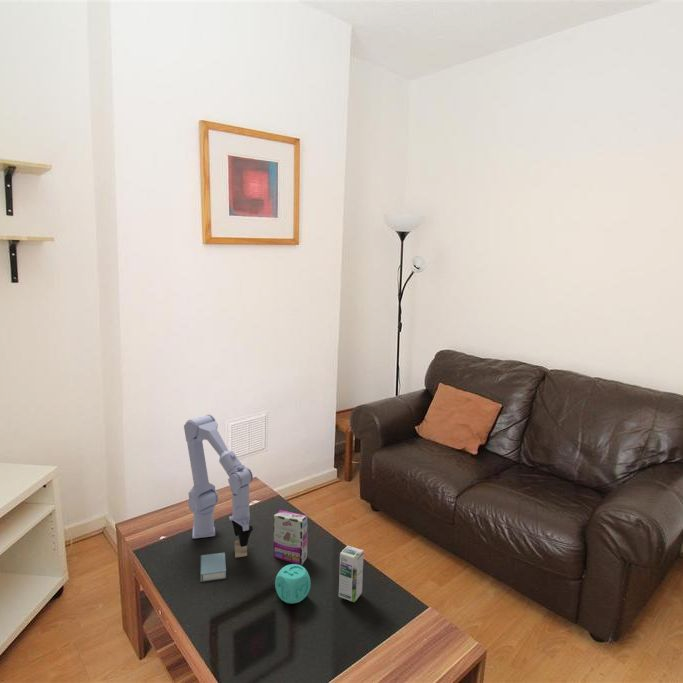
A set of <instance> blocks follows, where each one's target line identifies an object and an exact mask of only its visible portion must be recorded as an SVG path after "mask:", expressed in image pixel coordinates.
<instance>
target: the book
mask: <svg viewBox="0 0 683 683" xmlns="http://www.w3.org/2000/svg"><path fill="white" fill-rule="evenodd" d="M226 565H227V564H226V552H218V553H210V554H209V553H207V554H201V555H200V583H202V582H209V581H216V580H224V579H227V566H226Z"/></svg>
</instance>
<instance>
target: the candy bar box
mask: <svg viewBox="0 0 683 683" xmlns="http://www.w3.org/2000/svg"><path fill="white" fill-rule="evenodd" d="M308 516H309V515H305V514H301V513H295V512H291V511H287V510H283V509H282V510H281V509H279V510H278V512H276V513H275V514H274V515H273V553H272V554H273V557H274V558H277V559H280V560H283V561H285V562H290V563H292V564H297V565H301V566H303V565H304V562H305V561H307V559H308V532H309V530H308V528H309V527H308V526H309V524H308V522H309V520H308V519H309V517H308Z"/></svg>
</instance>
